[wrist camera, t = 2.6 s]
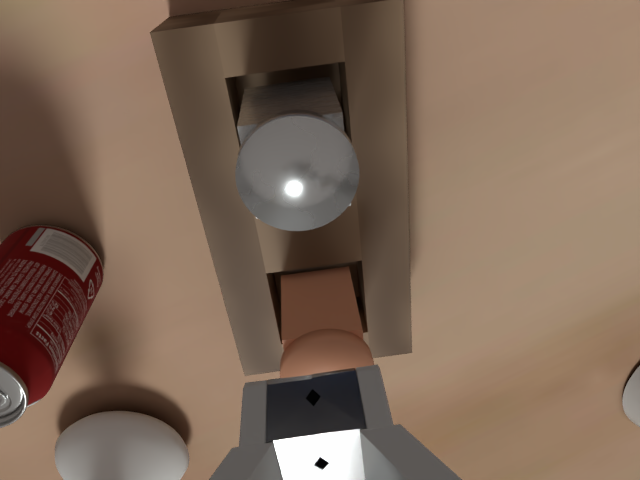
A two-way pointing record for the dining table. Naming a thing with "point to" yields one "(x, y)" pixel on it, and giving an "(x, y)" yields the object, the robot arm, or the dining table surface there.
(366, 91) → the walnut block
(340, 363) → the terracotta plunger
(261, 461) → the robot arm
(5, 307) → the soda can
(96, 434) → the flower in vase
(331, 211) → the metal plunger
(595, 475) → the dining table surface
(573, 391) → the dining table surface
